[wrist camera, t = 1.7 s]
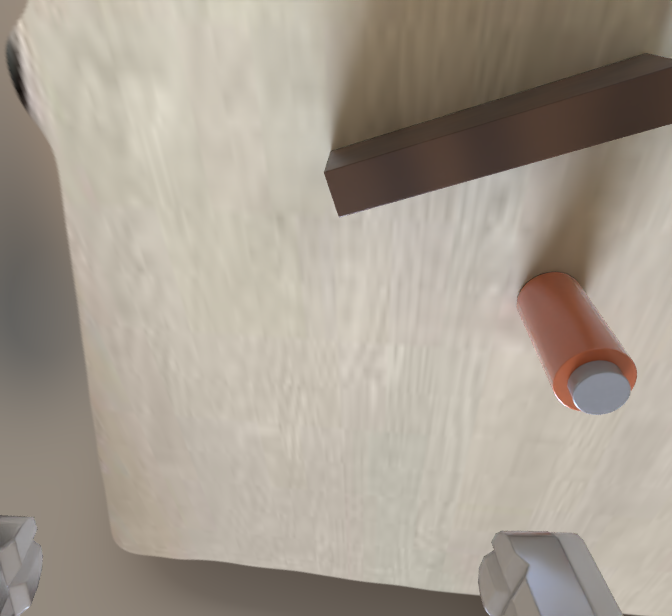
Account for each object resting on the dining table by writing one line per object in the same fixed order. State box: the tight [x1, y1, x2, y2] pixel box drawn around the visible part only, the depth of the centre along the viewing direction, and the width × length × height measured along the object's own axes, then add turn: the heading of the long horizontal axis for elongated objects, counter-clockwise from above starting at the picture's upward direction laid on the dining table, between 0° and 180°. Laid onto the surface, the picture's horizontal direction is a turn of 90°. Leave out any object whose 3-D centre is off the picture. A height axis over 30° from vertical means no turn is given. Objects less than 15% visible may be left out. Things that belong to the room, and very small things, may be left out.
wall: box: [324, 53, 672, 217], centre depth 33 cm, size 20×3×5 cm, turn 108°
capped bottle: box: [517, 272, 637, 415], centre depth 36 cm, size 5×5×11 cm
